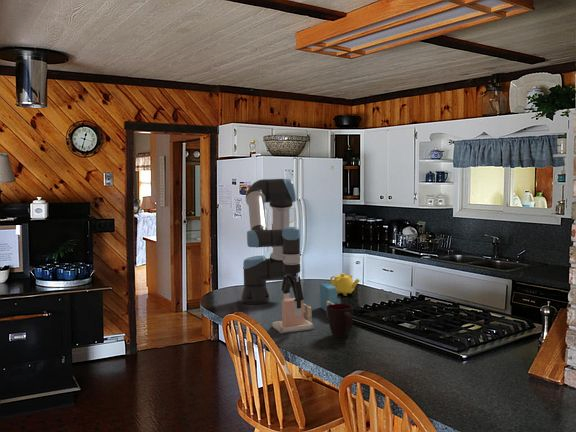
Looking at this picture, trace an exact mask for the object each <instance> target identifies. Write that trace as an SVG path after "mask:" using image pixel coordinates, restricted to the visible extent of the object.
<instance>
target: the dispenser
mask: <svg viewBox="0 0 576 432" xmlns="http://www.w3.org/2000/svg"><path fill="white" fill-rule="evenodd" d="M332 304H334V303H332V302H330V301H327V306H328V305H332ZM312 312H313V311H312V307H311V306H310V305H308V304H306V303H303V318H304V319H306V320H308V321H309V322H311V323H312V322H313V321H312ZM326 317H328V315H327V314H326ZM312 324H313V323H312Z"/></svg>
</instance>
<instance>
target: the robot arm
mask: <svg viewBox="0 0 576 432" xmlns="http://www.w3.org/2000/svg"><path fill="white" fill-rule="evenodd" d="M296 201H297V197H296V190H295V185H294V181H293V179H291V178H267V179H266V178H263V179H258V180H257V181H256V180H255V182H253V183H252V184H251V185H250V186H249V187H248V189H247V191H246V194H245V202H246V205H247V206H248V215H249V217H248V218H249V224H250V225H249V226H250V230H248V231H246V240H247V241H246V242H247V243H246V244H247V247H248V248H270V247H272V252H271V253H270V255H269V258H267V257H266V255H255V256H250V257H247V258H245V259H243V265H242V266H243V268H242V269H243V288H242V293H241V296H240V303H242V304H245V303H246V305H261V304H266V303H269V302H270V301H271V298H270V297H271V296H270V293H269V289H268V288H267V281H270V282H271V281H282V285H281V292H282V294H283V299H287V298H291V288H292V292H293V296H294V298H295V300H294V301H295V316H301V300H303V301H304V295H303V294H304V293H303V289H302V284H301V277H300V276H298V275H297V274H299V273H301V241H300V240H301V233H300V228H299V227H297V226H290V208H292V207H293V203H295V202H296ZM266 203H269V207H270V208H271V209H272V229H268V224H267V223H268V222H267V217H266V216H267V215H266V209H265V208H266V207H265V204H266Z"/></svg>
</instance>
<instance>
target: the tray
mask: <svg viewBox="0 0 576 432" xmlns="http://www.w3.org/2000/svg"><path fill="white" fill-rule="evenodd" d="M303 319H304V318H303ZM271 324H272V325H271V326H272V328H273V329H275V330H276V331H277V332H279V334H289V333H296V332H302V331H309V330H310V331H312V330H314V329H315V328H314V327H315V325H314V323H311V322H309V321H308V320H306V319H304V325H300V326H292V327H283V326H282V320H279V321H272V322H271Z"/></svg>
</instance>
